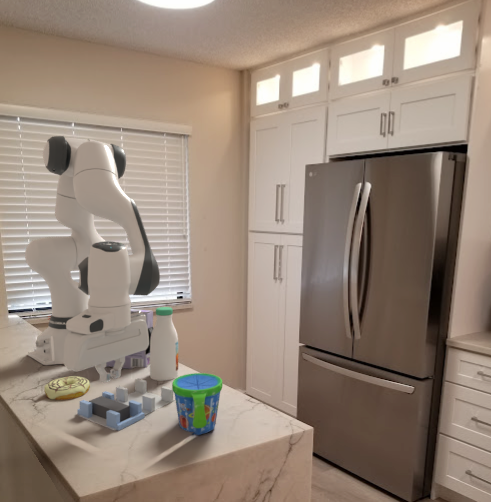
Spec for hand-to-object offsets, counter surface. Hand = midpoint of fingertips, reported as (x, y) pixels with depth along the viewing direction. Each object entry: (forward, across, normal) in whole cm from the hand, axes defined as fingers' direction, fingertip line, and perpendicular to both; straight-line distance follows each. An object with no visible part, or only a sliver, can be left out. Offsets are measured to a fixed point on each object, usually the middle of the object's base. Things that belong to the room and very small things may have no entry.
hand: (110, 379), depth 92 cm
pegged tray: (+9, -5, 0) cm, 10 cm away
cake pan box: (+9, -26, -26) cm, 38 cm away
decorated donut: (+10, -3, -20) cm, 22 cm away
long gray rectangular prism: (+8, 0, -1) cm, 8 cm away
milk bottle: (+9, -25, -8) cm, 28 cm away
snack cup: (+9, -8, +18) cm, 22 cm away
